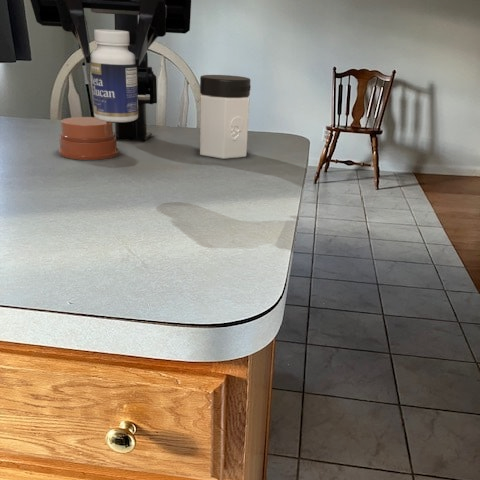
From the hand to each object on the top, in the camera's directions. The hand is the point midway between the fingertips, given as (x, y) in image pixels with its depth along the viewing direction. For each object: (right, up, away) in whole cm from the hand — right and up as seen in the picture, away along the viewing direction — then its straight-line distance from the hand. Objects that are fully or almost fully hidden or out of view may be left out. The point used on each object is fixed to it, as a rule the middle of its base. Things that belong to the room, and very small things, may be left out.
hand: (112, 61), depth 63 cm
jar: (+12, -2, +30) cm, 32 cm away
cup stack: (-10, -3, +25) cm, 27 cm away
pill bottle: (-1, -5, +5) cm, 7 cm away
